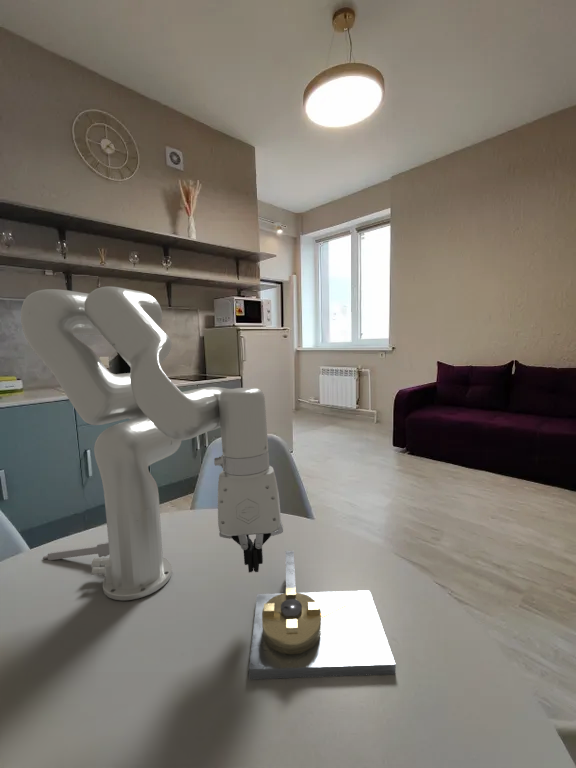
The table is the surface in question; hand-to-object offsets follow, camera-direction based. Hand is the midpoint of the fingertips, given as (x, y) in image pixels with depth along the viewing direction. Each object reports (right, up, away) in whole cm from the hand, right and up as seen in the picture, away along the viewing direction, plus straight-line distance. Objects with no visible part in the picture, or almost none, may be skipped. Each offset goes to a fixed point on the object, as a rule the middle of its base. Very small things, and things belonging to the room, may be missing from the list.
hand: (254, 567), depth 62 cm
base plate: (+10, -8, -5) cm, 14 cm away
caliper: (-38, -8, +16) cm, 42 cm away
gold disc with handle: (+6, -6, 0) cm, 9 cm away
